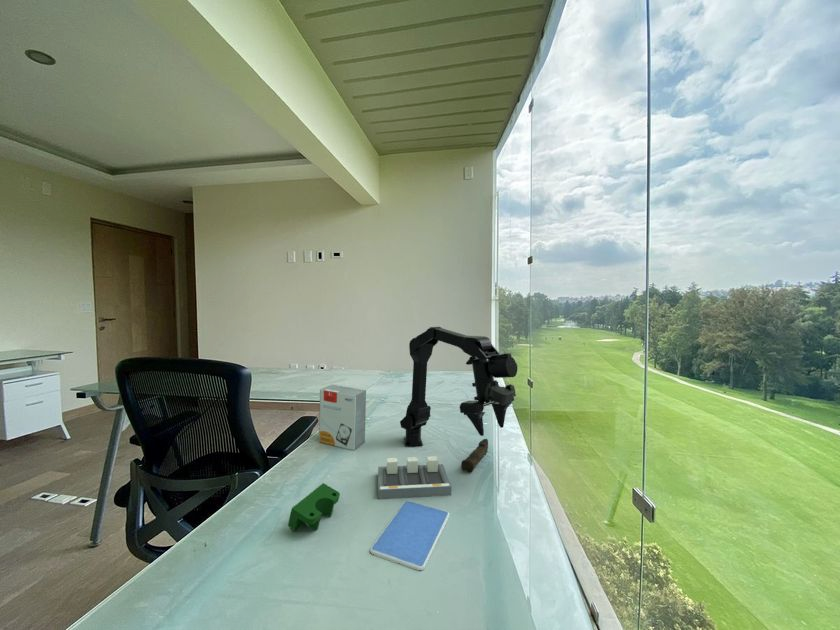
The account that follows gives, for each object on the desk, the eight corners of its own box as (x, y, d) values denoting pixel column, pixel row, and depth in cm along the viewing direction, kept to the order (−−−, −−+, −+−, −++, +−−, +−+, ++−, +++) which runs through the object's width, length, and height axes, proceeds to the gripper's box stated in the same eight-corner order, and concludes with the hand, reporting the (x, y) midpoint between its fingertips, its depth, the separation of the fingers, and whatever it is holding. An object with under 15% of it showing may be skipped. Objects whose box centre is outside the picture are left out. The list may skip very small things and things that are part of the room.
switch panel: (378, 474, 101) (378, 464, 101) (442, 471, 104) (442, 462, 104) (378, 499, 89) (378, 487, 89) (451, 495, 92) (451, 484, 92)
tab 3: (426, 467, 101) (426, 456, 100) (436, 467, 101) (436, 456, 101) (427, 472, 98) (428, 460, 98) (437, 471, 99) (438, 460, 98)
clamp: (309, 549, 77) (306, 528, 72) (290, 536, 79) (285, 515, 74) (342, 504, 86) (341, 483, 82) (324, 493, 88) (322, 472, 84)
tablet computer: (405, 503, 89) (405, 498, 89) (450, 515, 84) (450, 510, 84) (368, 555, 71) (368, 549, 71) (423, 575, 66) (423, 568, 66)
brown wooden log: (472, 475, 103) (473, 460, 103) (460, 470, 105) (461, 456, 105) (494, 451, 119) (495, 439, 118) (483, 448, 121) (484, 436, 121)
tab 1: (386, 469, 99) (386, 458, 99) (396, 469, 99) (397, 457, 99) (386, 474, 97) (387, 462, 96) (397, 473, 97) (397, 461, 97)
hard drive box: (318, 442, 122) (318, 389, 120) (331, 434, 129) (331, 384, 127) (354, 451, 116) (355, 395, 114) (366, 442, 123) (366, 389, 122)
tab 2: (406, 468, 100) (407, 457, 100) (416, 468, 100) (417, 457, 100) (407, 473, 97) (407, 461, 97) (417, 472, 98) (417, 461, 98)
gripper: (484, 383, 88) (493, 444, 86) (524, 372, 100) (533, 425, 98) (454, 383, 96) (462, 438, 95) (495, 374, 108) (502, 422, 107)
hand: (492, 431), depth 98 cm, fingers open, 9 cm apart
